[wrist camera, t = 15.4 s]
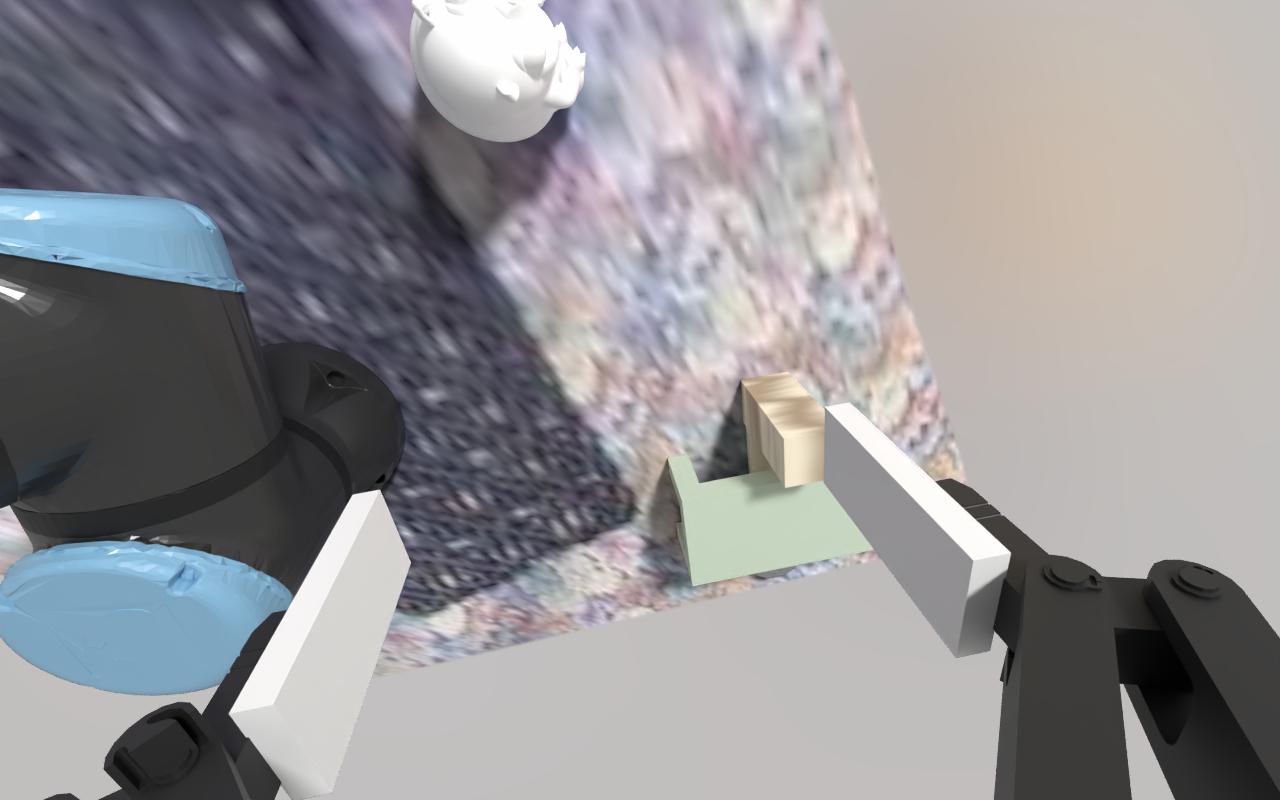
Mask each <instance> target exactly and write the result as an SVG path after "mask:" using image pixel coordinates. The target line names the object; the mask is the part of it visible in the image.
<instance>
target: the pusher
mask: <svg viewBox="0 0 1280 800" xmlns="http://www.w3.org/2000/svg"><path fill="white" fill-rule="evenodd" d="M741 393H742V410H743V423H744V424H745V426H746V435H747V453H748V471H749V474H751V473H756V472H761V471H766V470H772V469H773V470H774V472H775V473H776V475H777V476H778V478H779V479H780V481H781V482H782V484H783V486H784V487H785V488H788V487H793V486H798V485H803V484H808V483H813V482H818V481H824V430H825V410H824V409H823V408H822V407H821V406H820V405H819V404H818V403H817V402H816V401H815V400H814V399H813V398H812V397H811V395H810V394H809V393H808V392H807V391H806V390H805V389H804V388H803V387H802V386H801V385H800V384H799V383H798V382H797V381H796V380H795V379H794V378H793V377H792V376H791V375H790V374H789V373H788V372H784V373H778V374H773V375H767V376H762V377H756V378H751V379H745V380H741Z"/></svg>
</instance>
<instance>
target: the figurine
mask: <svg viewBox="0 0 1280 800" xmlns="http://www.w3.org/2000/svg"><path fill="white" fill-rule="evenodd" d="M544 1H545V0H413V1H412V6H413V9H414V11H415V12H414V15H413V18H412V23H411V29H410V52H411V58H412V63H413V67H414V71H415V74H416V76H417V79H418V81H419V84H420V86H421V88H422V90H423V91H424V93H425V95H426V97H427V98H428V100H429V101H430V102H431V104H432V105H433V106H434V107H435V109H436V110H437V111H438V112H439V113H440V114H441V115H442V116H443V117H444V118H445V119H446V120H448V121H449V122H450V123H451V124H453V125H454V126H456V127H457V128H459V129H460V130H462V131H464V132H466V133H468V134H470V135H472V136H475V137H478V138H481V139H484V140H489V141H495V142H515V141H520V140H524V139H527V138H529V137H531V136H533V135H535V134H536V133H538V132H539V131H540V130H541V129H543V128H544V127H545V125H546V124H547V123H548V122H549V120H550V119H551V117H552V115H553V113H554V112H556V111H557V110H559V109H565V108H568V107H570V106H572V105H573V103H574V102H575V100H576V97H577V94H578V93H579V92H580V90H581V89H582V87H583V83H584V71H583V69H584V67H585V58H586V56H585V54H586V53H581V54H580V51H579V49H578V47H576V48H575V49H574V50H572V49H571V47H570V46H569V45H568V43H567V35H566V31H565V29H564V25H563V24H562V22H561V23H560V24H559V25H557V24H556V26H555V27H553V25H552V23H551V21H550V20H549V18H548V16H547V15H546V14H545V13H544V11H543V10H541V9H540V7H542V5H543V3H544Z"/></svg>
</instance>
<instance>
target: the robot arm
mask: <svg viewBox="0 0 1280 800" xmlns="http://www.w3.org/2000/svg"><path fill="white" fill-rule="evenodd" d="M246 292H247V289H246V286H245V285H244V284H243V283H242V282H241V281H240V280H239V279H238V277H237V274H236V271H235V269H234V266H233V263H232V261H231V258H230V255H229V252H228V250H227V247H226V244H225V242H224V239H223V236H222V234H221V231H220V229H219V228H218V226H217V224H216V223H215V222H214V221H213V220H212V218H211V217H210V216H208V215H207V214H206V213H205V212H203V211H202V210H200V209H199V208H197V207H195V206H193V205H191V204H189V203H186V202H183V201H180V200H175V199H168V198H159V197H148V196H135V195H119V194H103V193H85V192H65V191H43V190H24V189H3V188H0V509H1V508H3V507H6V506H8V505H10V507H11V508H12V510H13V512H14V513H15V515H16V517H17V519H18V520H19V522H20V524H21V526H22V527H23V529H24V531H25V532H26V534H27V536H28V537H29V539H30V541H31V543H32V545H33V554H29V555H26V556H25V557H23V558H22V559H20V560H19V561H18V562H16V563H15V564H14V565H12V566H11V567H10V568H9V569H8V570H7V572H6V574H5V578H4V580H3V581H2V583H1V584H0V637H1V638H2V639H3V640H4V642H5V643H6V644H7V645H8V646H9V647H10V648H11V649H12V650H13V651H14V652H15V653H17V654H18V655H19V656H20V657H22V658H23V659H25V660H26V661H27V662H29V663H31V664H32V665H34V666H36V667H38V668H40V669H41V670H43V671H46V672H48V673H50V674H52V675H54V676H56V677H59V678H61V679H64V680H67V681H70V682H72V683H76V684H79V685H84V686H89V687H93V688H96V689H100V690H104V691H109V692H114V693H122V694H132V695H150V696H153V695H173V694H182V693H190V692H196V691H200V690H204V689H208V688H211V687H214V686H217V685H220V686H219V687H218V689H217V691H216V692H215V694H214V696H213V697H212V699H211V700H210V702H209V704H208V705H207V707H206V709H205V710H204V712H203V714H202V715H201V714H200V713H199V711H198V710H197V709H196V708H195V707H194V706H193V705H192V704H191V703H186V702H177V703H173V704H170V705H166V706H163V707H161V708H159V709H157V710H155V711H153V712H151V713H149V714H147V715H146V716H144V717H143V718H141V719H140V720H139V721H137V722H136V723H135V724H133V725H132V726H131V727H130V728H128V729H127V730H126V731H125V732H124V734H122V735H121V736H120V738H119V739H118V740H117V741H116V742H115V743H114V744H113V746H112V748H111V749H110V751H109V753H108V754H107V756H106V757H105V763H104V770H105V771H106V772H107V773H108V774H109V775H110V777H112V779H113V780H114V781H115V782H116V783H117V784H118V785H119V786H120V787H121V788H122V789H120V790H118V791H116V792H114V793H112V794H110V795H107V796H105V797H103V798H101V799H99V800H274V799H275V797H276V794H277V792H278V790H279V787H280V785H281V786H282V787H283V788H284V790H285V791H286V793H287V794H288V795H289V797H290V798H291V799H292V800H302V799H307V798H311V797H316V796H321V795H325V794H330V793H332V792H333V789H334V786H335V783H336V780H337V777H338V774H339V772H340V769H341V766H342V763H343V760H344V757H345V754H346V751H347V748H348V745H349V742H350V739H351V736H352V733H353V730H354V728H355V724H356V721H357V719H358V716H359V713H360V710H361V707H362V704H363V701H364V698H365V695H366V693H367V690H368V687H369V684H370V681H371V678H372V675H373V672H374V669H375V666H376V663H377V660H378V657H379V655H380V652H381V649H382V646H383V643H384V640H385V637H386V634H387V631H388V628H389V625H390V622H391V619H392V616H393V614H394V611H395V608H396V605H397V602H398V599H399V596H400V593H401V590H402V587H403V584H404V581H405V578H406V576H407V573H408V570H409V567H410V564H411V562H410V560H409V557H408V555H407V552H406V550H405V548H404V545H403V543H402V541H401V538H400V536H399V533H398V531H397V529H396V526H395V524H394V522H393V519H392V517H391V515H390V512H389V510H388V507H387V505H386V503H385V500H384V498H383V496H382V493H381V491H380V489H381V488H382V487H383V486H384V484H385V483H386V482H387V481H388V479H389V478H390V476H391V475H392V473H393V471H394V469H395V467H396V465H397V463H398V461H399V459H400V457H401V454H402V451H403V448H404V443H405V425H404V420H403V416H402V412H401V410H400V407H399V405H398V403H397V401H396V399H395V397H394V396H393V394H392V393H391V391H390V390H389V388H388V387H387V386H386V385H385V383H384V382H383V381H382V380H381V379H380V378H379V377H378V376H377V375H376V374H375V373H374V372H372V371H371V370H370V369H369V368H367V367H366V366H364V365H363V364H362V363H360V362H358V361H357V360H355V359H353V358H351V357H349V356H347V355H345V354H343V353H341V352H338V351H336V350H333V349H330V348H327V347H323V346H319V345H313V344H307V343H279V344H272V345H268V346H264V347H260V344H259V340H258V337H257V334H256V331H255V327H254V324H253V321H252V317H251V314H250V311H249V308H248V304H247V301H246V298H245V294H244V293H246ZM824 484H825V485H826V487H827V488H828V489H829V491H830V492H831V493H832V495H833V496H834V497H835V498H836V500H837V501H838V502H839V504H840V505H841V506H842V508H843V509H844V510H845V512H846V513H847V514H848V516H849V517H850V518H851V520H852V521H853V522H854V524H855V525H856V526H857V528H858V529H859V530H860V532H861V533H862V534H863V536H864V537H865V538H866V540H867V541H868V542H869V544H870V545H871V546H872V547H873V549H874V550H875V551H876V553H877V554H878V555H879V557H880V558H881V559H882V561H883V562H884V563H885V565H886V566H887V567H888V568H889V570H890V571H891V573H892V574H893V575H894V577H895V578H896V579H897V581H898V582H899V583H900V585H901V586H902V587H903V589H904V590H905V591H906V593H907V594H908V595H909V596H910V598H911V599H912V600H913V602H914V603H915V604H916V606H917V607H918V608H919V610H920V611H921V612H922V614H923V615H924V616H925V618H926V619H927V620H928V622H929V623H930V624H931V626H932V627H933V628H934V630H935V631H936V632H937V634H938V635H939V636H940V638H941V639H942V640H943V642H944V643H945V644H946V645H947V647H948V648H949V649H950V651H951V652H952V653H953V655H954V656H955V657H956V658H959V657H964V656H968V655H973V654H978V653H982V652H987V651H990V648H991V644H992V639H993V635H994V631H995V632H996V633H997V634H998V635H999V636H1000V638H1001V639H1002V640H1003V641H1004V642H1005V643H1006V645H1007V646H1008V648H1007V652H1006V656H1005V660H1004V665H1003V669H1002V673H1001V678H1000V681H1002V682H1003V693H1002V706H1001V718H1000V731H999V743H998V756H997V768H996V781H995V793H994V800H1132V797H1131V788H1130V778H1129V768H1128V759H1127V749H1126V740H1125V730H1124V721H1123V711H1122V702H1121V693H1120V684H1124V686H1125V688H1126V691H1127V693H1128V695H1129V697H1130V700H1131V702H1132V704H1133V707H1134V709H1135V711H1136V713H1137V715H1138V718H1139V720H1140V722H1141V724H1142V727H1143V729H1144V731H1145V733H1146V736H1147V738H1148V740H1149V742H1150V745H1151V747H1152V749H1153V751H1154V753H1155V756H1156V758H1157V760H1158V762H1159V765H1160V767H1161V769H1162V771H1163V774H1164V776H1165V778H1166V780H1167V783H1168V785H1169V787H1170V789H1171V792H1172V794H1173V796H1174V798H1175V800H1280V638H1279V636H1278V635H1277V634H1276V632H1275V631H1274V630H1273V629H1272V628H1271V626H1270V625H1269V623H1268V622H1267V621H1266V620H1265V618H1264V617H1263V616H1262V614H1261V613H1260V612H1259V610H1258V609H1257V608H1256V606H1255V605H1254V604H1253V603H1252V601H1251V600H1250V599H1249V597H1248V596H1247V595H1246V594H1245V592H1244V591H1243V590H1242V589H1241V588H1240V587H1239V586H1238V585H1237V584H1236V583H1235V582H1234V581H1233V580H1232V579H1230V578H1228V577H1227V576H1225V575H1223V574H1221V573H1220V572H1218V571H1216V570H1214V569H1211V568H1208V567H1206V566H1203V565H1200V564H1198V563H1193V562H1188V561H1183V560H1163V561H1160V562H1157V563H1154V565H1153V566H1152V568H1151V569H1150V571H1149V574H1148V577H1147V579H1135V578H1116V577H1103V576H1101V575H1100V574H1099V573H1098V572H1097V571H1096V570H1095V569H1093V568H1091V567H1089V566H1088V565H1086V564H1084V563H1082V562H1080V561H1077V560H1074V559H1071V558H1068V557H1063V556H1057V555H1049V554H1048V553H1046V552H1045V551H1044V550H1043V549H1042V548H1041V547H1039V546H1038V545H1037V544H1036V543H1035V542H1034V541H1032V540H1031V539H1030V538H1029V537H1028V536H1027V535H1026V534H1024V533H1023V532H1022V531H1021V530H1020V529H1018V528H1017V527H1016V526H1015V525H1014V524H1013V523H1012V522H1010V521H1009V520H1008V519H1007V518H1006V517H1005V516H1001V514H1000V512H999V511H998V510H997V509H995V508H994V507H993V506H992V505H989V504H988V502H987V501H986V500H985V499H984V498H983V497H982V496H980V495H979V494H978V493H977V492H976V491H974V490H973V489H972V488H970V487H968V486H966V485H964V484H962V483H960V482H958V481H955V480H953V479H951V478H950V479H945V480H940V481H933V480H932V479H931V478H930V477H929V476H928V475H927V474H926V473H925V472H924V471H923V470H922V469H921V468H920V467H918V466H917V465H916V464H915V463H914V462H913V461H912V460H911V459H910V458H909V457H908V456H907V455H906V454H904V453H903V452H902V451H901V450H900V449H899V448H898V447H897V446H896V445H895V444H894V443H893V442H892V441H890V440H889V439H888V438H887V437H886V436H885V435H884V434H883V433H882V432H881V431H880V430H879V429H878V428H877V427H875V426H874V425H873V424H872V423H871V422H870V421H869V420H868V419H867V418H866V417H865V416H864V415H863V414H861V413H860V412H859V411H858V410H857V409H856V408H855V407H854V406H853V405H852V404H851V403H850V402H849V403H844V404H838V405H833V406H828V407H825V430H824ZM44 800H79V799H78V798H77V797H75V796H74V795H72V794H71V793H67V794H57V795H54V796H52V797H49V798H47V799H44Z"/></svg>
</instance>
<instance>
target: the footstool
mask: <svg viewBox="0 0 1280 800" xmlns="http://www.w3.org/2000/svg"><path fill="white" fill-rule="evenodd" d="M668 465H669V472H670V477H671V480H672V483H673V486H674V489H675V492H676V496H677V499H678V502H679V505H680V512H681V519H682V522H678V523H676V525H677V533H678V539H679V542H680V546H681V549H682V552H683V556H684V559H685V562H686V566H687V569H688V573H689V576H690V579H691V583H692V586H697V585H702V584H706V583H711V582H716V581H721V580H726V579H731V578H736V577H741V576H746V575H751V574H756V573H761V572H766V571H771V570H776V569H781V568H786V567H791V566H795V565H800V564H805V563H810V562H815V561H820V560H825V559H830V558H835V557H840V556H845V555H850V554H855V553H860V552H865V551H870V550H874V549H873V547H872V546H871V545H870V544H869V542H868V541H867V540H866V538H865V537H864V536H863V534H862V533H861V532H860V530H859V529H858V528H857V526H856V525H855V524H854V522H853V521H852V520H851V518H850V517H849V516H848V514H847V513H846V512H845V510H844V509H843V508H842V506H841V505H840V504H839V502H838V501H837V500H836V498H835V497H834V496H833V495H832V493H831V492H830V491H829V489H828V488H827V487H826V485H825V484H824V481H818V482H813V483H808V484H803V485H798V486H793V487H788V488H785V487H784V486H783V484H782V482H781V481H780V479H779V478H778V476H777V475H776V473H775V472H774V470H773V469H772V470H766V471H761V472H756V473H751V474H745V475H740V476H735V477H730V478H725V479H719V480H714V481H709V482H704V483H699V481H698V479H697V476H696V474H695V471H694V469H693V466H692V464H691V461H690V459H689V456H688V454H687V455H681V456H676V457H671V458H668Z"/></svg>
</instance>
